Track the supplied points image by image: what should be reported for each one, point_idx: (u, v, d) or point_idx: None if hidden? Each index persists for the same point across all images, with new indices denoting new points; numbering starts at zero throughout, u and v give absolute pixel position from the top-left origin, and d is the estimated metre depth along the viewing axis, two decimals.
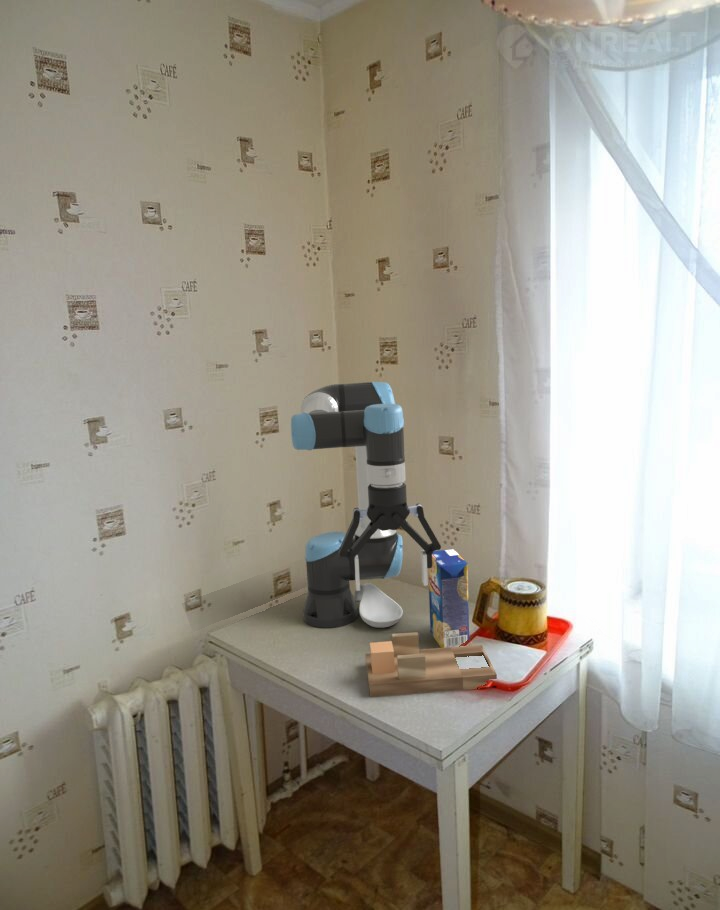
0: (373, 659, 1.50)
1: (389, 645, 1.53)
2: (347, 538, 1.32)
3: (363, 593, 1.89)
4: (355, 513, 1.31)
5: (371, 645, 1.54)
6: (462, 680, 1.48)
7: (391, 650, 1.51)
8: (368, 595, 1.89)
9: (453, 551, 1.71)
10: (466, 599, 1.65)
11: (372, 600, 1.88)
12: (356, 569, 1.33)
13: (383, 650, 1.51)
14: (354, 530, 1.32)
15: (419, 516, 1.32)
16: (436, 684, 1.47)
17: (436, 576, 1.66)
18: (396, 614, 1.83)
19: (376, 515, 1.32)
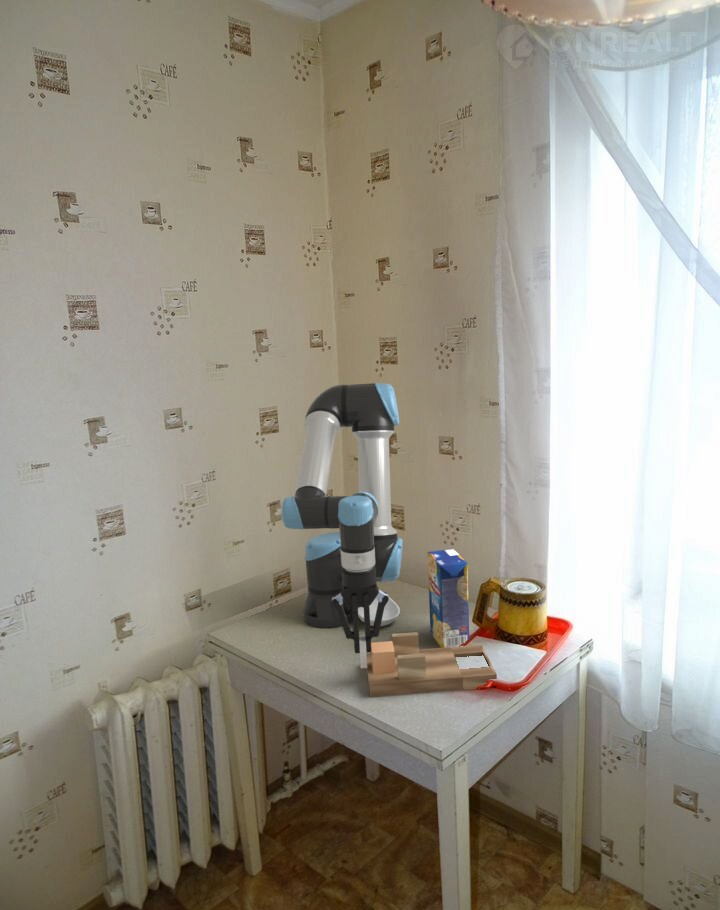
0: (374, 659, 1.50)
1: (390, 645, 1.53)
2: (342, 623, 1.50)
3: None
4: (333, 603, 1.49)
5: (372, 645, 1.54)
6: (462, 680, 1.48)
7: (392, 650, 1.51)
8: None
9: (453, 551, 1.71)
10: (466, 599, 1.65)
11: None
12: (360, 649, 1.51)
13: (384, 650, 1.51)
14: (342, 614, 1.49)
15: (381, 603, 1.49)
16: (436, 684, 1.47)
17: (436, 576, 1.66)
18: (394, 614, 1.84)
19: (349, 592, 1.48)
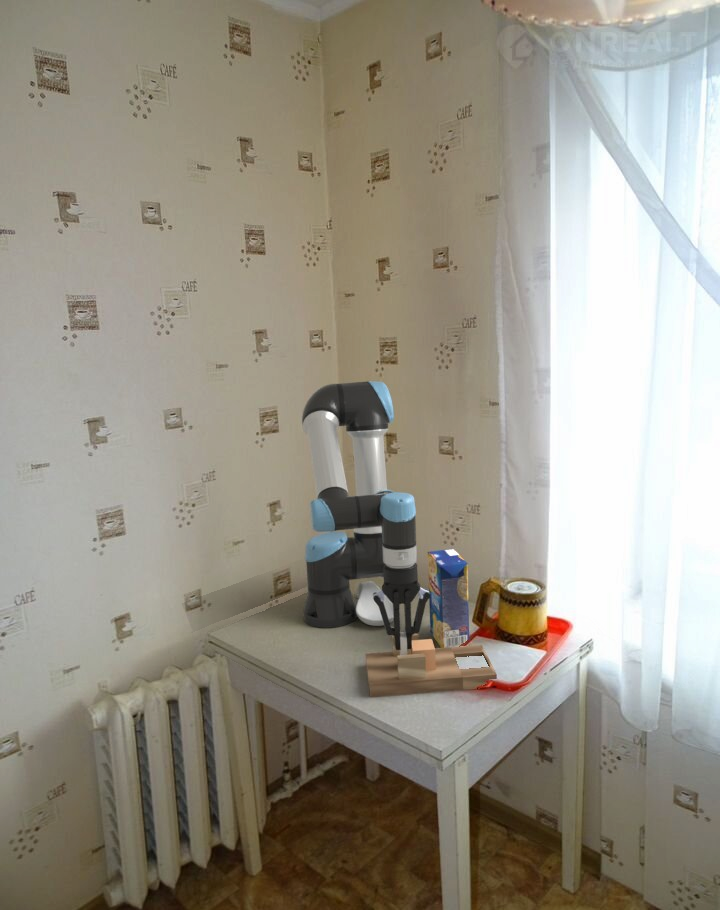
0: None
1: (430, 643, 1.53)
2: (384, 620, 1.50)
3: (362, 591, 1.90)
4: (374, 599, 1.49)
5: (412, 643, 1.54)
6: (462, 680, 1.48)
7: (432, 648, 1.51)
8: (367, 593, 1.90)
9: (453, 551, 1.71)
10: (466, 599, 1.65)
11: (371, 598, 1.90)
12: (401, 646, 1.51)
13: (424, 648, 1.51)
14: (384, 611, 1.49)
15: (423, 600, 1.49)
16: (436, 684, 1.47)
17: (436, 576, 1.66)
18: None
19: (390, 589, 1.49)
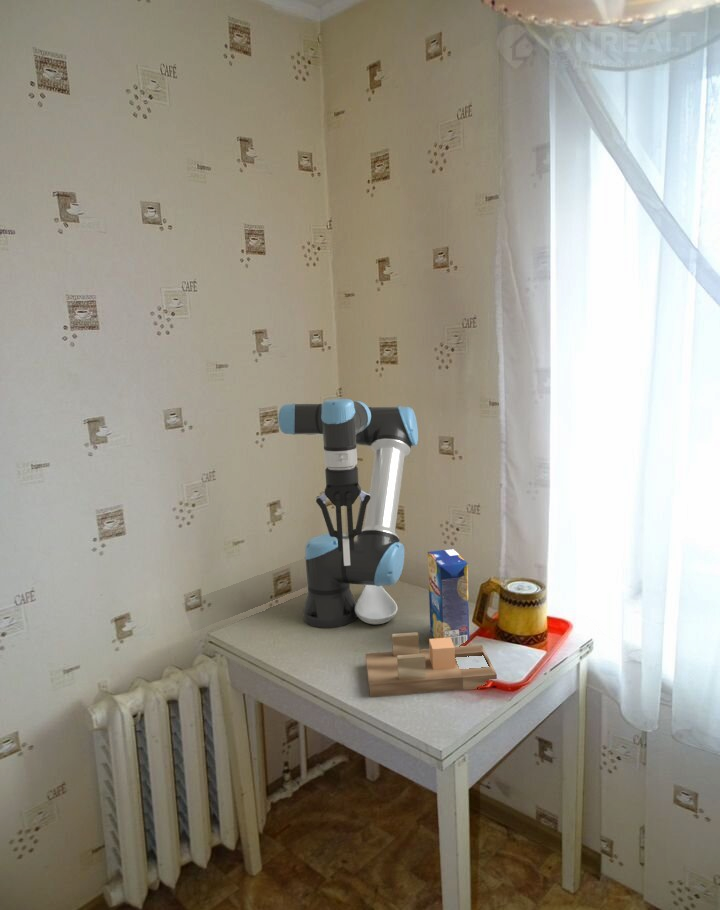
0: (434, 655, 1.51)
1: (449, 641, 1.53)
2: (326, 521, 1.56)
3: (364, 589, 1.92)
4: (317, 501, 1.55)
5: (431, 641, 1.54)
6: (462, 680, 1.48)
7: (452, 646, 1.51)
8: (369, 591, 1.92)
9: (453, 551, 1.71)
10: (466, 599, 1.65)
11: (373, 596, 1.91)
12: (344, 547, 1.58)
13: (444, 646, 1.51)
14: (326, 513, 1.56)
15: (363, 502, 1.56)
16: (436, 684, 1.47)
17: (436, 576, 1.66)
18: (391, 613, 1.84)
19: (332, 491, 1.55)
